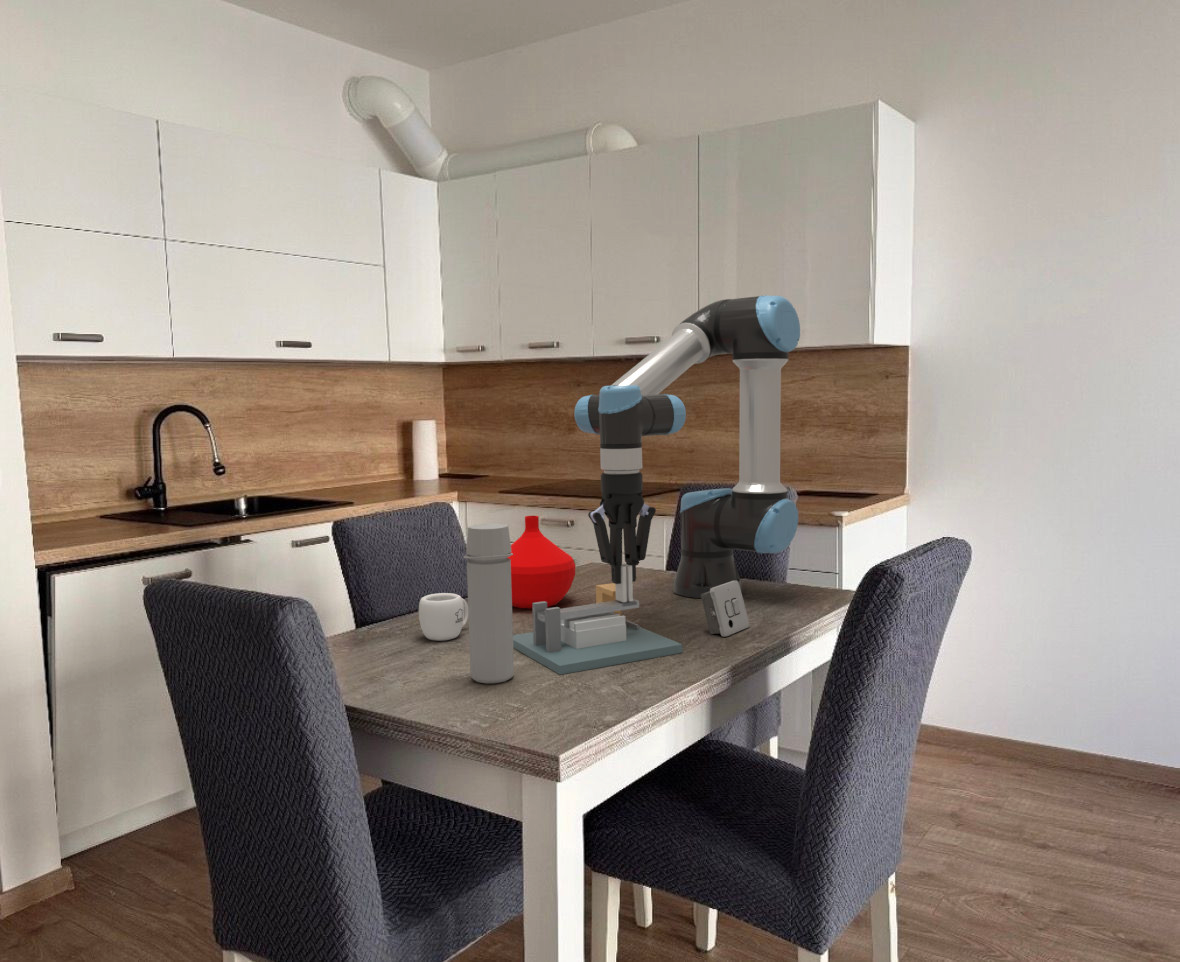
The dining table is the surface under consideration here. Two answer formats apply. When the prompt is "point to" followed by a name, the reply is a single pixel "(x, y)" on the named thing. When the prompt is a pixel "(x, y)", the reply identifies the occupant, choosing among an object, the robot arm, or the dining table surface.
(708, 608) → the electrical switch
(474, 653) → the water bottle
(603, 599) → the orange block
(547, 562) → the vase
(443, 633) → the mug
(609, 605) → the grey long bar
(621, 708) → the dining table surface
